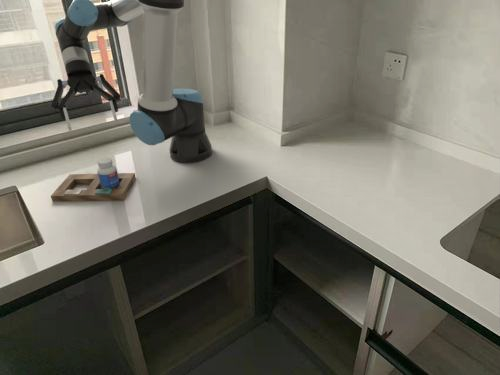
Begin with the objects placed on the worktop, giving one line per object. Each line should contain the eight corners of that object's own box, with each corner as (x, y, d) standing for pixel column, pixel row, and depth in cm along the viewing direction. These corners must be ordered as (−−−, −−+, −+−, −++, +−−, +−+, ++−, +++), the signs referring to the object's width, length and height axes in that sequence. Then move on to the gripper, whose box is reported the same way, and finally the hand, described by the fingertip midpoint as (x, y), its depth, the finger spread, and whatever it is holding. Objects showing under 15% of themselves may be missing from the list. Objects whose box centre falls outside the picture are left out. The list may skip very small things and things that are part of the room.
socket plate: (135, 178, 118) (134, 172, 117) (123, 200, 107) (122, 193, 106) (71, 179, 119) (69, 173, 118) (52, 201, 108) (50, 195, 106)
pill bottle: (115, 194, 110) (107, 165, 105) (99, 192, 111) (90, 164, 106) (124, 185, 115) (117, 157, 110) (108, 183, 116) (101, 156, 111)
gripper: (118, 67, 126) (134, 122, 122) (37, 77, 117) (52, 137, 113) (117, 53, 119) (134, 112, 115) (31, 63, 110) (46, 126, 106)
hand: (93, 124), depth 114 cm, fingers open, 13 cm apart
